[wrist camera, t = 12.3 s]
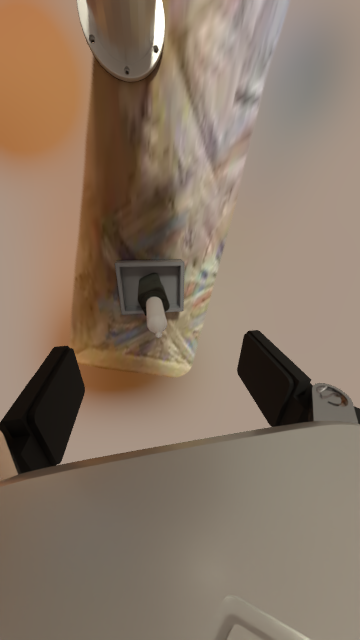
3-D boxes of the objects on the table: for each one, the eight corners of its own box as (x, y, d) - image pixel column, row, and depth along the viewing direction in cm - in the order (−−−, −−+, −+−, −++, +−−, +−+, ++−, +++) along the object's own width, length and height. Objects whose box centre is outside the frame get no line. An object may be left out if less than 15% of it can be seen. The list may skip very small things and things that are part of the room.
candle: (165, 289, 47) (183, 343, 25) (146, 297, 48) (149, 358, 25) (156, 271, 45) (169, 312, 23) (137, 279, 45) (131, 328, 23)
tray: (117, 260, 43) (114, 263, 40) (181, 259, 46) (184, 261, 42) (123, 308, 49) (121, 314, 45) (180, 305, 51) (183, 311, 48)
